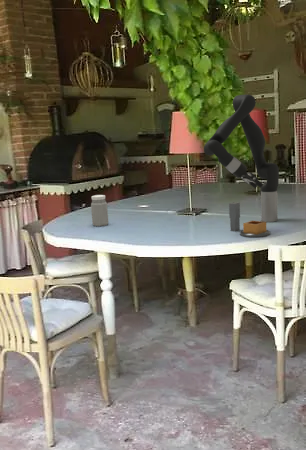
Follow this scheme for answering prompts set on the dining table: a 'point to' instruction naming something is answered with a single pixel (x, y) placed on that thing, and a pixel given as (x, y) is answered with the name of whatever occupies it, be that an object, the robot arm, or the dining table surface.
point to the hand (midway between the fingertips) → (259, 186)
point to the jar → (99, 210)
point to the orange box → (254, 229)
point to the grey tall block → (234, 216)
